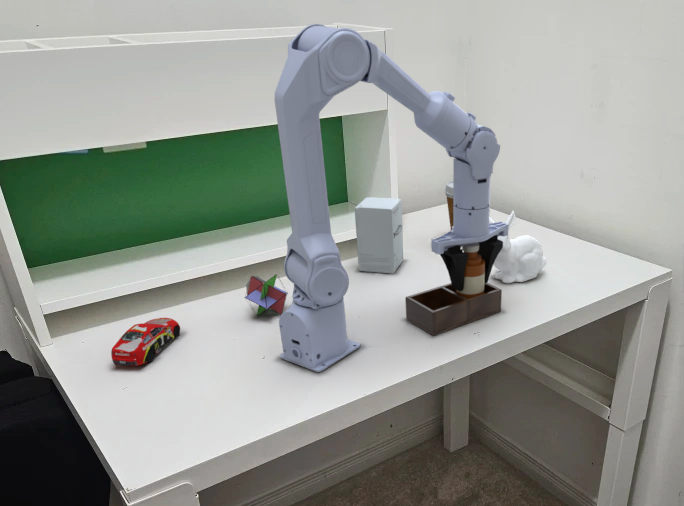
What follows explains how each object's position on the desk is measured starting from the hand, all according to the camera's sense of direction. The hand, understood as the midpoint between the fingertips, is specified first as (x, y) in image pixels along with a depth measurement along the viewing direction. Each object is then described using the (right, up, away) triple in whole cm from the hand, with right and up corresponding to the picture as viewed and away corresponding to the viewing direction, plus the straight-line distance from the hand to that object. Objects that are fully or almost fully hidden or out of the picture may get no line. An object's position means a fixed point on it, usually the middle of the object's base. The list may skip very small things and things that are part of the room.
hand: (470, 284), depth 110 cm
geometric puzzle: (-34, -5, +2) cm, 34 cm away
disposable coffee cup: (0, +14, +33) cm, 36 cm away
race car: (-49, -11, -9) cm, 52 cm away
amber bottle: (0, -3, +2) cm, 3 cm away
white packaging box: (-17, +6, +20) cm, 27 cm away
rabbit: (+8, +3, +15) cm, 17 cm away
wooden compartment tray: (-3, -5, +1) cm, 6 cm away
